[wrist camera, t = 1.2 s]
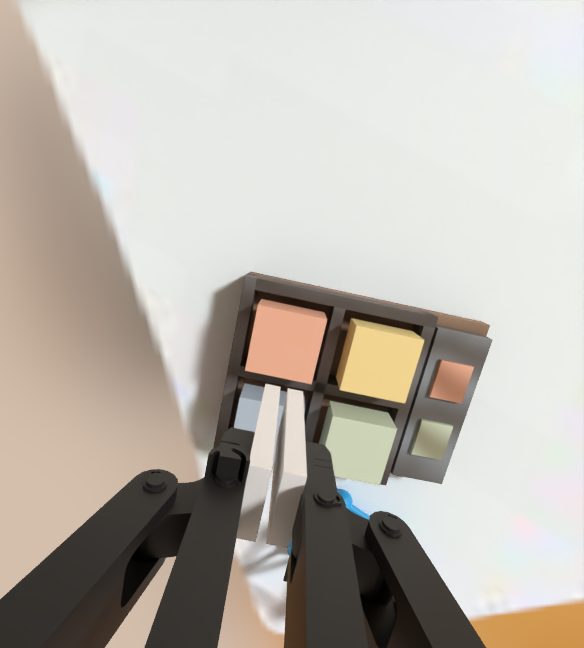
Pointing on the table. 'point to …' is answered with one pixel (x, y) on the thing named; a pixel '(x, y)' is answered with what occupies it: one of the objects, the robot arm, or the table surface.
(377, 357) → the mustard key
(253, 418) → the slate key
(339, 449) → the sage key
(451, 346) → the keypad
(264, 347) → the terracotta key
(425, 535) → the table surface
